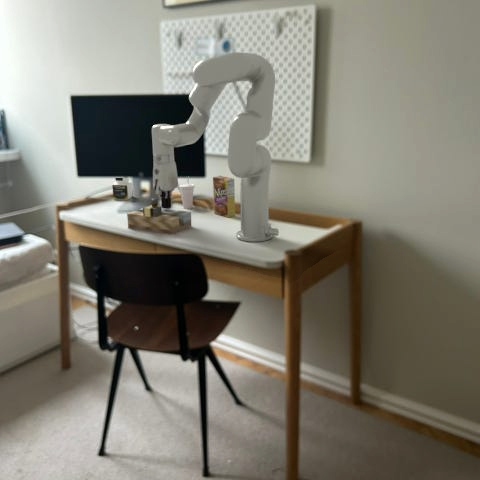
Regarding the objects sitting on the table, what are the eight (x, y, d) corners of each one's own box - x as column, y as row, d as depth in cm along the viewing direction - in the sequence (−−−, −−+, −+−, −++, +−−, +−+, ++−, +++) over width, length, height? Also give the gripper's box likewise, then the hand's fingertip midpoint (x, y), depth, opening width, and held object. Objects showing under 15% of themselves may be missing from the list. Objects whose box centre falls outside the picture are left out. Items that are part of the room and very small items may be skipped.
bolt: (160, 213, 189) (159, 198, 187) (150, 216, 184) (149, 202, 182) (154, 212, 190) (153, 198, 188) (144, 216, 185) (143, 201, 183)
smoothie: (192, 209, 217) (191, 176, 212) (178, 209, 218) (176, 176, 214) (197, 206, 223) (195, 173, 218) (182, 205, 224) (181, 173, 220)
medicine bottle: (113, 199, 236) (111, 173, 233) (119, 196, 243) (117, 170, 239) (128, 200, 235) (126, 173, 231) (133, 196, 242) (131, 171, 238)
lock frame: (191, 226, 192) (190, 203, 190) (173, 234, 182) (172, 211, 180) (147, 220, 201) (146, 198, 199) (128, 227, 191) (126, 205, 188)
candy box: (213, 213, 210) (212, 176, 205) (221, 212, 213) (220, 175, 208) (227, 217, 204) (226, 179, 199) (235, 216, 206) (235, 178, 202)
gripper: (160, 162, 180) (163, 213, 186) (183, 156, 193) (185, 204, 199) (143, 161, 184) (146, 211, 189) (166, 155, 196) (169, 202, 202)
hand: (166, 207), depth 194 cm, fingers closed
